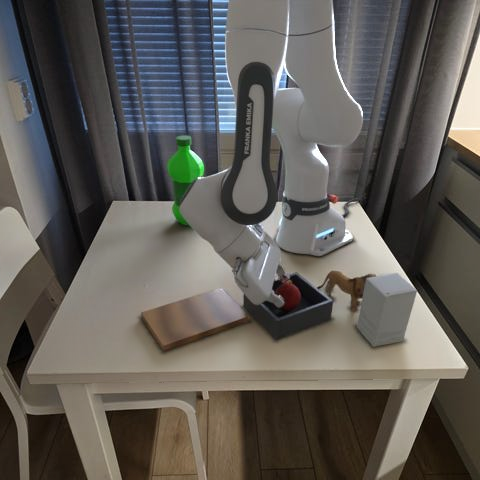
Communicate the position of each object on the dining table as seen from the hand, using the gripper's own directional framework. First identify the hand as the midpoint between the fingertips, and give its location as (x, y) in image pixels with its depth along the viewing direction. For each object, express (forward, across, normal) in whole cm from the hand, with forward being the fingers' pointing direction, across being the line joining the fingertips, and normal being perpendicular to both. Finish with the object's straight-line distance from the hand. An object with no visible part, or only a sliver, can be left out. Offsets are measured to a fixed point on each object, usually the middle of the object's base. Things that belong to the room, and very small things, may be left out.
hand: (285, 292), depth 98 cm
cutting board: (-9, -6, +17) cm, 21 cm away
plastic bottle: (-20, +41, +28) cm, 54 cm away
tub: (+4, 0, +4) cm, 6 cm away
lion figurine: (+14, +8, -6) cm, 17 cm away
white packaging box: (+19, -3, -11) cm, 22 cm away
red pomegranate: (+4, 0, +3) cm, 5 cm away
